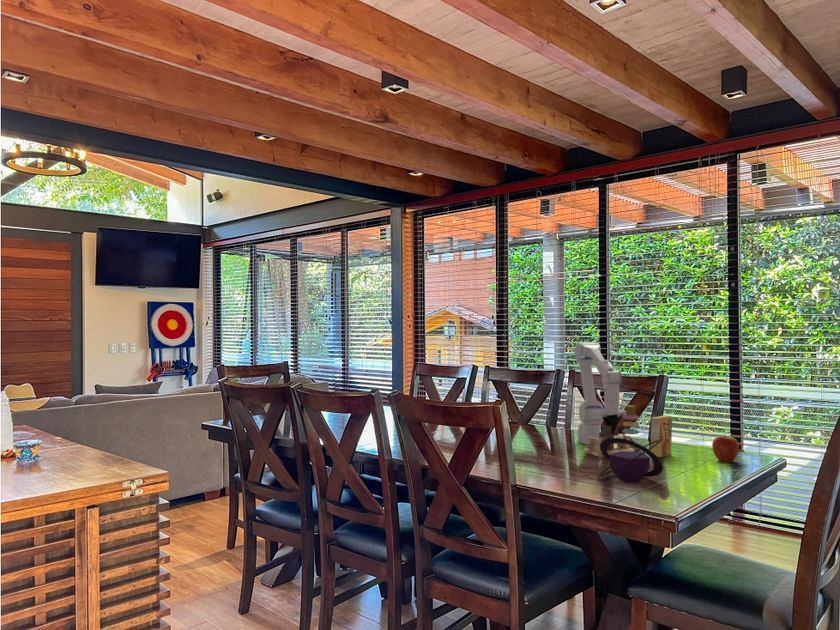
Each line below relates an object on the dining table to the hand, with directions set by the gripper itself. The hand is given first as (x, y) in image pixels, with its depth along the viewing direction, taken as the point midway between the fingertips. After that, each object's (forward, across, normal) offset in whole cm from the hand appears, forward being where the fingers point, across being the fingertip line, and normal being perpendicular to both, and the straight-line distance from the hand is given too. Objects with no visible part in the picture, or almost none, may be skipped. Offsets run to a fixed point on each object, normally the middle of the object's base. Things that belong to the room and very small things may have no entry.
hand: (611, 434), depth 252 cm
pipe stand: (+7, -1, 0) cm, 7 cm away
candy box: (+8, +14, -13) cm, 20 cm away
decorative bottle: (+8, -28, -36) cm, 46 cm away
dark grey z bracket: (+5, -3, 0) cm, 6 cm away
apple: (+8, +28, -31) cm, 42 cm away
